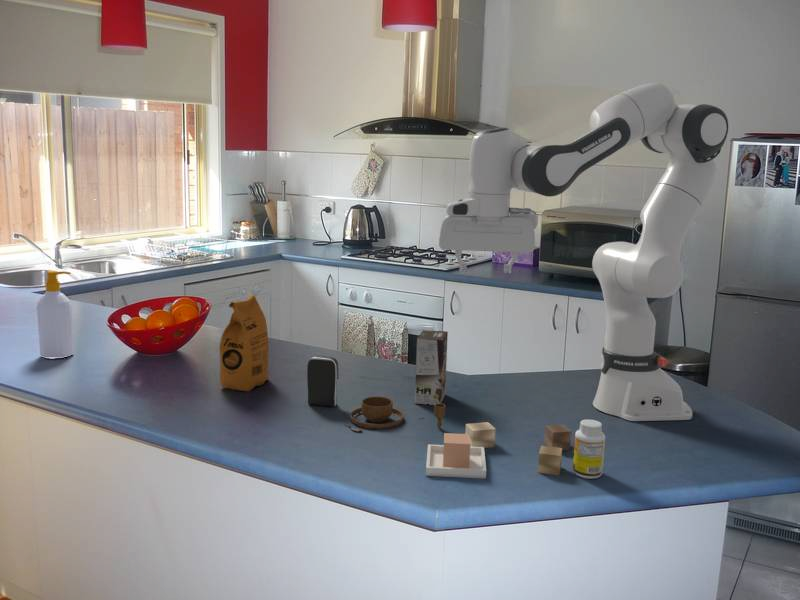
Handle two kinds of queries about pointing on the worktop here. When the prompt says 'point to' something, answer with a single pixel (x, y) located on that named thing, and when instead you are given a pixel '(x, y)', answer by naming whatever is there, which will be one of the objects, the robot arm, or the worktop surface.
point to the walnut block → (558, 436)
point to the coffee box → (431, 367)
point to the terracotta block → (456, 450)
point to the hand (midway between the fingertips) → (485, 272)
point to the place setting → (386, 412)
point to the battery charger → (322, 381)
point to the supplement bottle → (589, 450)
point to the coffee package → (244, 347)
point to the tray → (436, 468)
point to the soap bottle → (55, 320)
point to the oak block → (550, 460)
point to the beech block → (481, 434)
